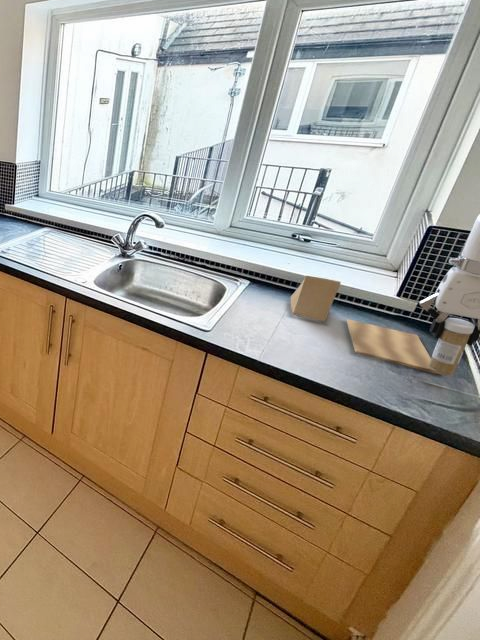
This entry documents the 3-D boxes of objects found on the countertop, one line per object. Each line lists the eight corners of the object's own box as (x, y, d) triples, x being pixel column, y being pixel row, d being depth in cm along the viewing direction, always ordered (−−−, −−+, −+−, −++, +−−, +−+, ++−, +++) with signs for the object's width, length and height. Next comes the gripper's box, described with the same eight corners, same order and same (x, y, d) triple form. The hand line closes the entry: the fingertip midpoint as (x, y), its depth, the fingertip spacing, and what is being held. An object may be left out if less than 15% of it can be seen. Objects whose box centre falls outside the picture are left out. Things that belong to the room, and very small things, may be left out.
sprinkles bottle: (459, 374, 99) (481, 325, 95) (445, 378, 99) (466, 328, 94) (435, 363, 104) (454, 315, 99) (421, 366, 103) (440, 318, 98)
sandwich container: (319, 304, 143) (334, 264, 137) (324, 325, 131) (341, 282, 125) (288, 298, 147) (302, 258, 141) (291, 317, 135) (306, 275, 129)
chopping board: (415, 339, 123) (417, 334, 123) (436, 376, 106) (438, 371, 106) (344, 323, 132) (346, 318, 131) (354, 355, 115) (355, 350, 115)
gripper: (433, 264, 94) (404, 335, 101) (551, 281, 85) (512, 358, 91) (424, 255, 100) (398, 322, 106) (534, 270, 91) (498, 343, 97)
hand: (451, 338), depth 99 cm, fingers closed on sprinkles bottle, 4 cm apart
